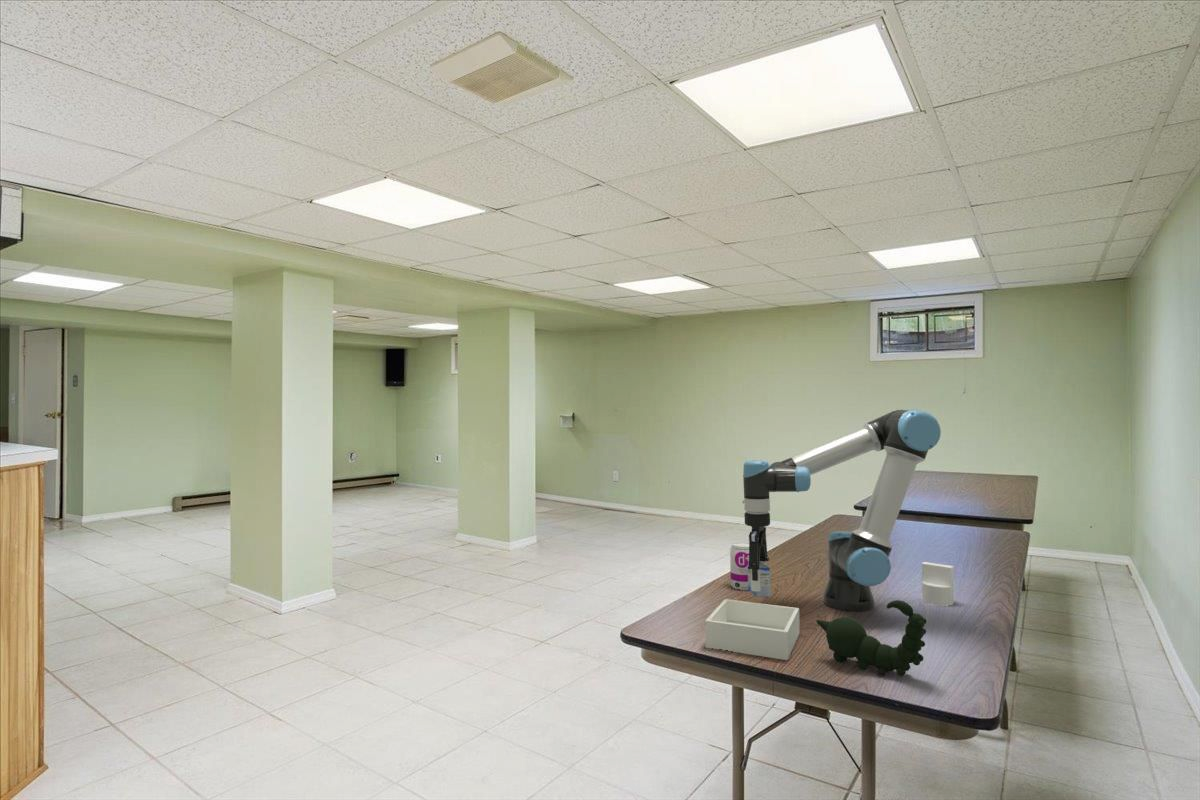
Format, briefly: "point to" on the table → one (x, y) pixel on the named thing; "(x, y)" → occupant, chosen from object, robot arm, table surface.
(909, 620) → the toy figurine
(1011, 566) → the table surface
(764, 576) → the medicine box
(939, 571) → the cylinder with rectangular tab
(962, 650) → the table surface
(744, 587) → the supplement can
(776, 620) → the open bin
